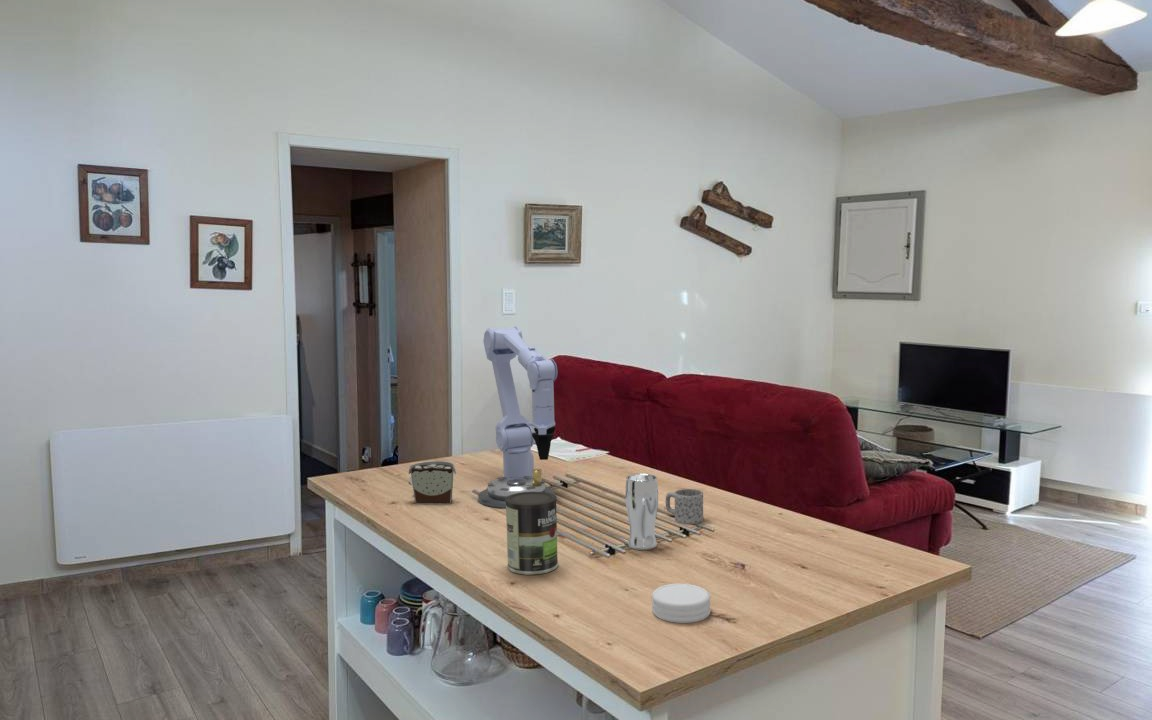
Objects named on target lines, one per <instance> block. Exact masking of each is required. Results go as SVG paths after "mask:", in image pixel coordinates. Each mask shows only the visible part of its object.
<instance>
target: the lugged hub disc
mask: <svg viewBox="0 0 1152 720" xmlns="http://www.w3.org/2000/svg"><path fill="white" fill-rule="evenodd" d="M545 487H546V482H545V479H543V478H542V469H541V468H534V470H532V476H524V477H507V478H506V477H504V476H501V477H497V479H493V480H491V481H489V482H487V489H488V496H489V497H491V498H494V499H498V500H505V498H506V497H508V496H510V495H512V494H516V493H521V492H545Z"/></svg>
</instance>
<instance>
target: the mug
mask: <svg viewBox="0 0 1152 720" xmlns="http://www.w3.org/2000/svg"><path fill="white" fill-rule="evenodd" d="M671 498H673V499H674V508H672V507H671ZM665 509H666V511H667V512H668V513H670V514H672V515H674V522H676V523H678V524H683V525H697V524H701V523H702V522H704V492H703V491H702V490H700V489H696V488H695V489H694V488H684V489H683V488H681V489H678V490H675V491H674V492H667V493H666V495H665Z"/></svg>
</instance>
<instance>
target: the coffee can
mask: <svg viewBox="0 0 1152 720" xmlns="http://www.w3.org/2000/svg"><path fill="white" fill-rule="evenodd" d="M557 500H558V497H557V496H556V494H555V495H553V494H551V493H546V492H521V493H516V494H512V495H510V496H508V497H506V498H505V503H506V509H505V512H506V515H505V517H506V518H505V519H506V547H507V570H509V571H510V572H512V573H514V574H518V575H527V576H529V575H531V576H533V575H543V574H546V573H547V574H548V573H551V572H553V571H554V570H557V568H558V566H559V562H558V534H557V533H558V526H557V525H558V524H557V523H558V519H557V516H558V515H557Z"/></svg>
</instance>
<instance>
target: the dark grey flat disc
mask: <svg viewBox="0 0 1152 720" xmlns="http://www.w3.org/2000/svg"><path fill="white" fill-rule="evenodd" d="M545 492H546V493H551V494H553V495H555V496H556V493H555V490H554V489H553V488H551V487H549V486H545ZM477 497H478V499H477V500H478V502H479V503H480V504H481V505H483V506H485V507H489V508H493V509H494V508H495V509H502V508H506V503H505V500H498V499H494V498H491V497H489V496H488V488H486V489H484V490H481V491H480V492H479V493H478V496H477Z"/></svg>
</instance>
